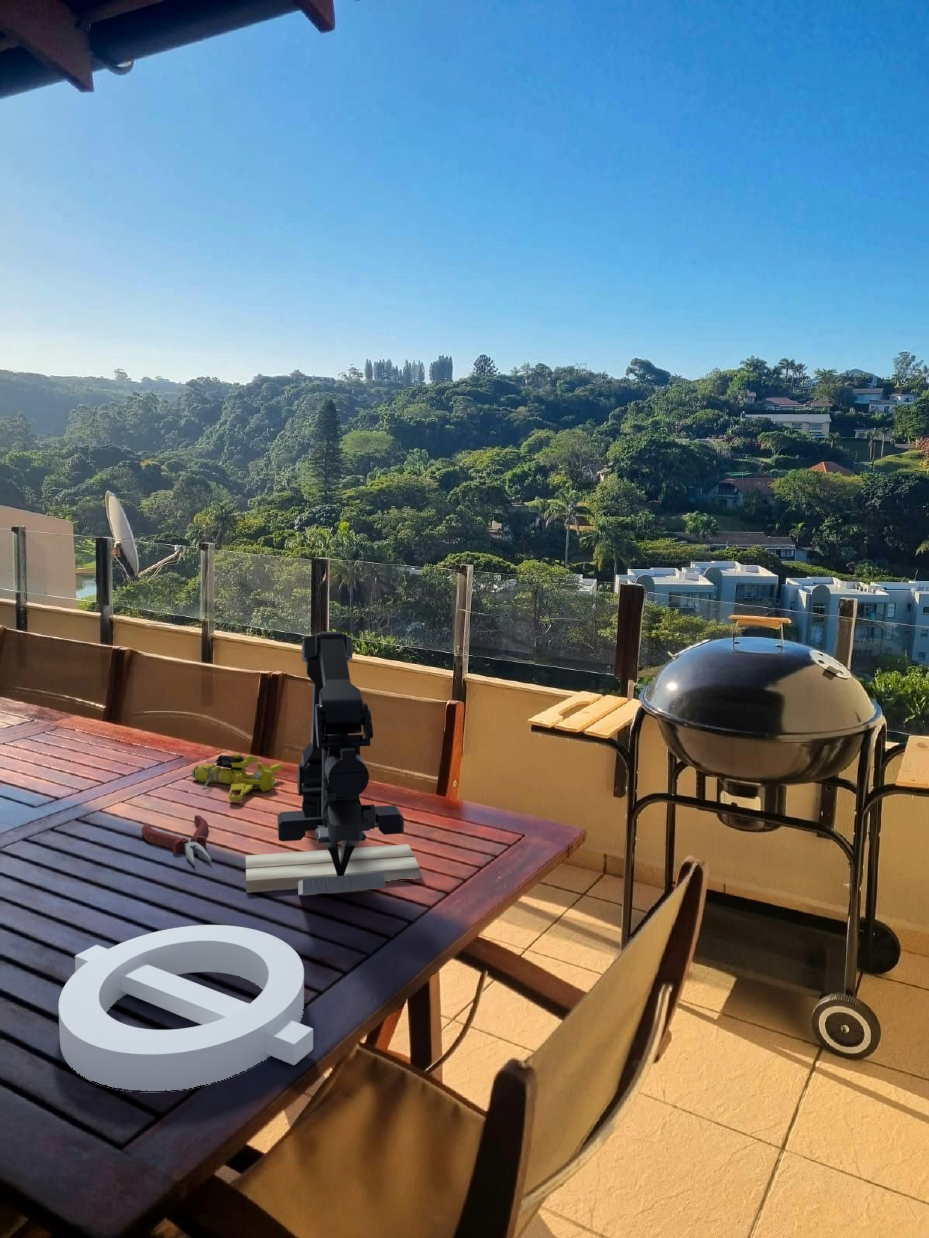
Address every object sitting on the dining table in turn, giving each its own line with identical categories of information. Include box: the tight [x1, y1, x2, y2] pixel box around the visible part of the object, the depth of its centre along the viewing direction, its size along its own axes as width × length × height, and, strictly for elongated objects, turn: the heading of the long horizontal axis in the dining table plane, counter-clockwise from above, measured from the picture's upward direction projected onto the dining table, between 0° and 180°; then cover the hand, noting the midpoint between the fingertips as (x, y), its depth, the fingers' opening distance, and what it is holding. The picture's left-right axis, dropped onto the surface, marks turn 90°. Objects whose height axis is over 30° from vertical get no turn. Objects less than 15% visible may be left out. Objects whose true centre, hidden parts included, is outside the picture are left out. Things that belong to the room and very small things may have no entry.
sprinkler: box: [191, 753, 282, 802], centre depth 188 cm, size 19×8×20 cm
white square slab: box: [297, 873, 386, 896], centre depth 135 cm, size 2×12×12 cm
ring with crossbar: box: [58, 924, 314, 1092], centre depth 107 cm, size 28×28×5 cm
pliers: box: [141, 814, 212, 867], centre depth 157 cm, size 12×20×3 cm, turn 33°
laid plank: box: [245, 843, 421, 894], centre depth 148 cm, size 10×28×2 cm, turn 104°
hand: (340, 876), depth 135 cm, fingers closed, pressing on white square slab
